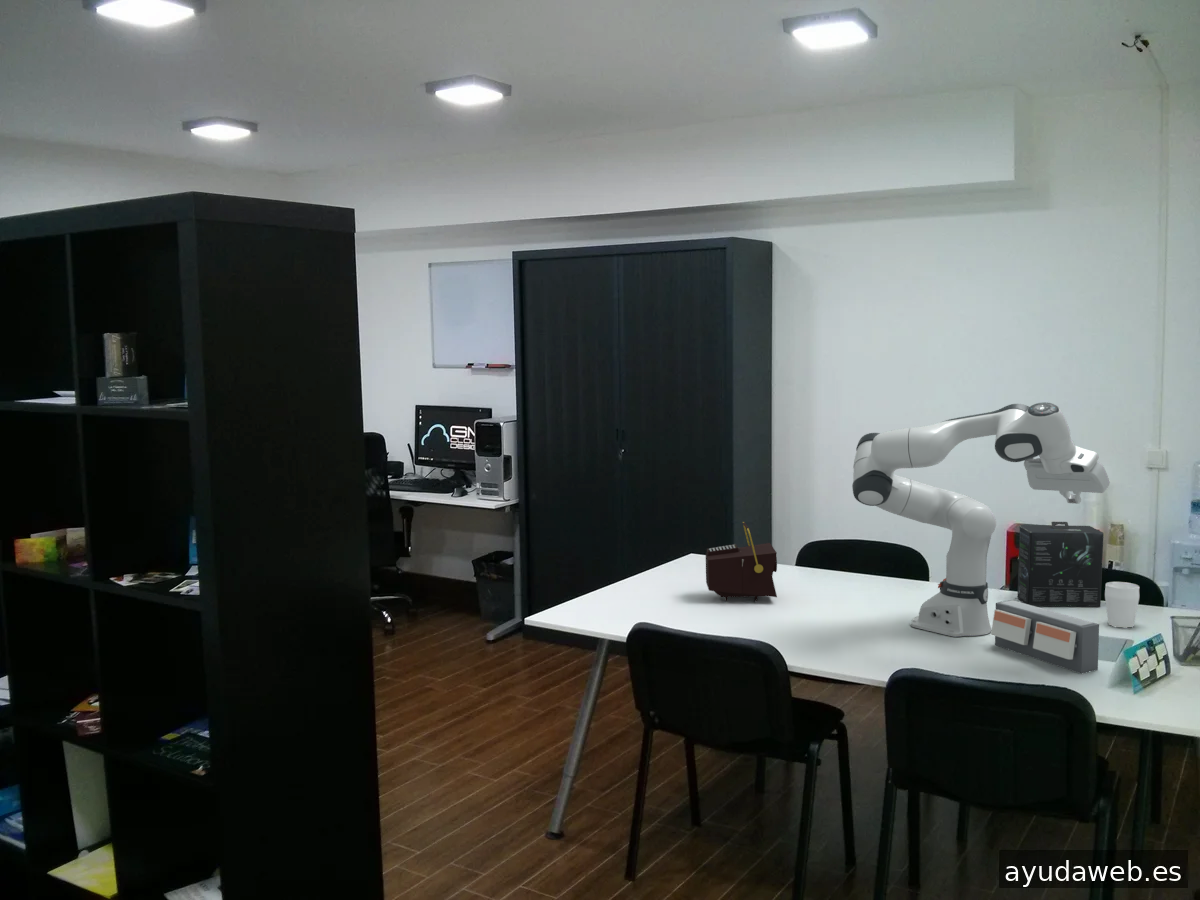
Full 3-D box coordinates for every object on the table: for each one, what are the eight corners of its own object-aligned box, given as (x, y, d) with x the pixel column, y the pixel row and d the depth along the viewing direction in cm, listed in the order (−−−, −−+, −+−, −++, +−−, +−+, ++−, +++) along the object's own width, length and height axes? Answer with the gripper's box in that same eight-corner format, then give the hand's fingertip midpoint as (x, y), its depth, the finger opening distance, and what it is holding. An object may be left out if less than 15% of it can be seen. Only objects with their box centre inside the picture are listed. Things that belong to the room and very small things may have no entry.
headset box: (1088, 597, 330) (1090, 518, 327) (1102, 607, 318) (1104, 525, 315) (1015, 597, 332) (1017, 519, 329) (1027, 607, 321) (1029, 526, 318)
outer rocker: (1068, 659, 258) (1072, 632, 258) (1031, 647, 269) (1034, 621, 268) (1075, 659, 259) (1079, 632, 259) (1037, 647, 270) (1041, 621, 270)
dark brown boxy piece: (781, 604, 332) (780, 528, 329) (709, 606, 332) (708, 530, 330) (773, 591, 348) (773, 519, 345) (705, 593, 349) (704, 521, 346)
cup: (1119, 631, 294) (1121, 590, 292) (1096, 622, 302) (1097, 583, 301) (1145, 627, 296) (1147, 587, 295) (1122, 619, 305) (1123, 580, 303)
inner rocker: (1023, 645, 271) (1027, 619, 271) (989, 634, 281) (993, 609, 281) (1030, 645, 272) (1034, 619, 272) (996, 634, 282) (999, 609, 282)
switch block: (1081, 673, 259) (1082, 626, 258) (994, 645, 284) (995, 602, 283) (1113, 665, 264) (1115, 619, 263) (1025, 638, 289) (1026, 596, 288)
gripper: (1016, 465, 270) (1031, 506, 275) (1093, 467, 254) (1108, 511, 259) (1027, 451, 273) (1042, 492, 278) (1104, 452, 257) (1118, 497, 262)
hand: (1074, 502), depth 268 cm, fingers closed
